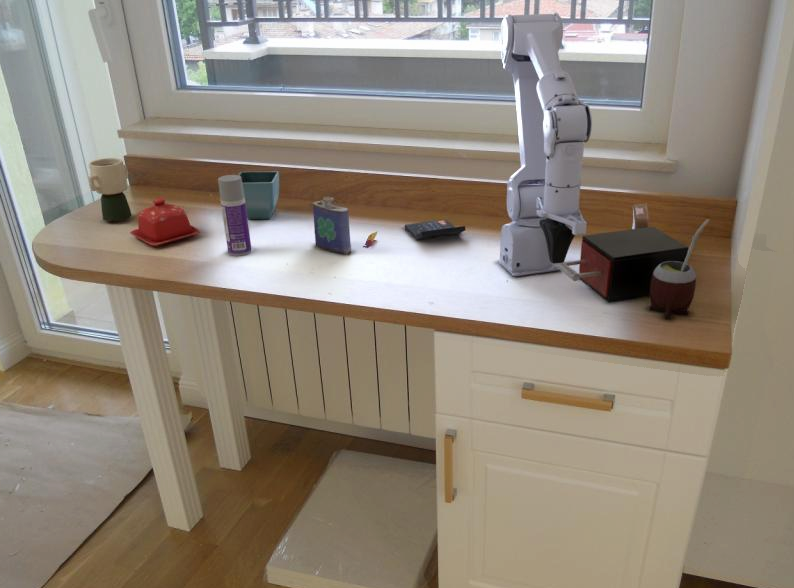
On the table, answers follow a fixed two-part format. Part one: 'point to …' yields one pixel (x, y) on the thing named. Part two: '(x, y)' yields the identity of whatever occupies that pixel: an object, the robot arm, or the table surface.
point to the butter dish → (163, 224)
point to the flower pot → (260, 193)
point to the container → (234, 215)
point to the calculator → (433, 229)
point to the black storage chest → (634, 259)
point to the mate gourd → (674, 284)
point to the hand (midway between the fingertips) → (556, 261)
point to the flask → (331, 227)
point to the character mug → (110, 187)
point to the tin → (640, 216)
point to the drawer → (590, 268)
